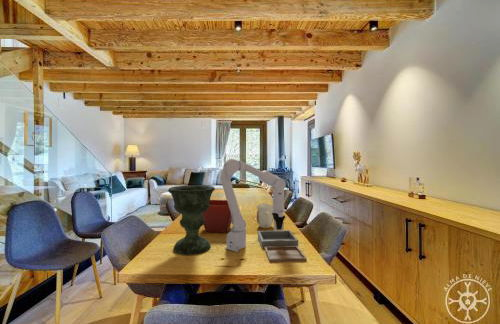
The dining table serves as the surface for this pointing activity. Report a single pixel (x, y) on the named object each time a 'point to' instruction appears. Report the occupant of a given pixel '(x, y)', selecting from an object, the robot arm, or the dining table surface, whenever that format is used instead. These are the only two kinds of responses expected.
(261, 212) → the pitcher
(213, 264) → the dining table surface
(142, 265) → the dining table surface
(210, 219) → the plant pot
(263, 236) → the bin
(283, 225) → the block
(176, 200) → the goblet
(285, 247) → the tray
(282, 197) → the robot arm
